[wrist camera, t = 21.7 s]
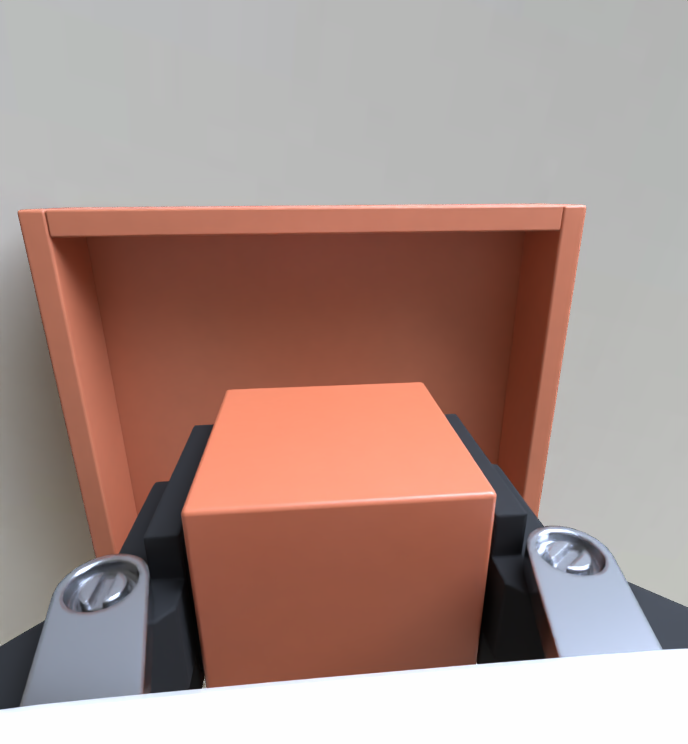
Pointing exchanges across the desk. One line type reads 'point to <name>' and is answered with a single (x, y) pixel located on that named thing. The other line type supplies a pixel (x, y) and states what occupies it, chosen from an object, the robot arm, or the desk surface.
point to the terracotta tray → (296, 323)
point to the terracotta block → (336, 535)
